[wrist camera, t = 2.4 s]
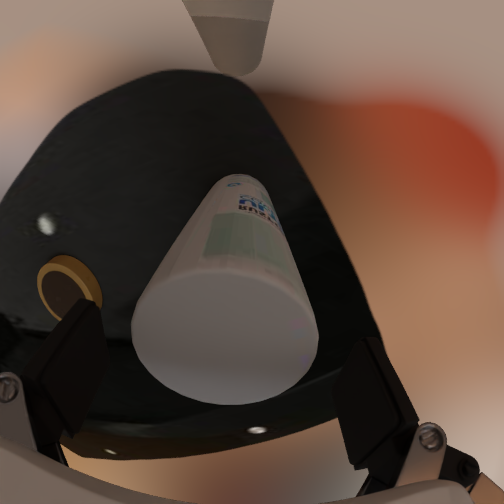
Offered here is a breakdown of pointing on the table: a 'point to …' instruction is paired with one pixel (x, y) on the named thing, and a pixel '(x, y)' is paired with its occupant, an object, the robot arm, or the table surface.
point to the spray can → (227, 303)
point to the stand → (66, 285)
